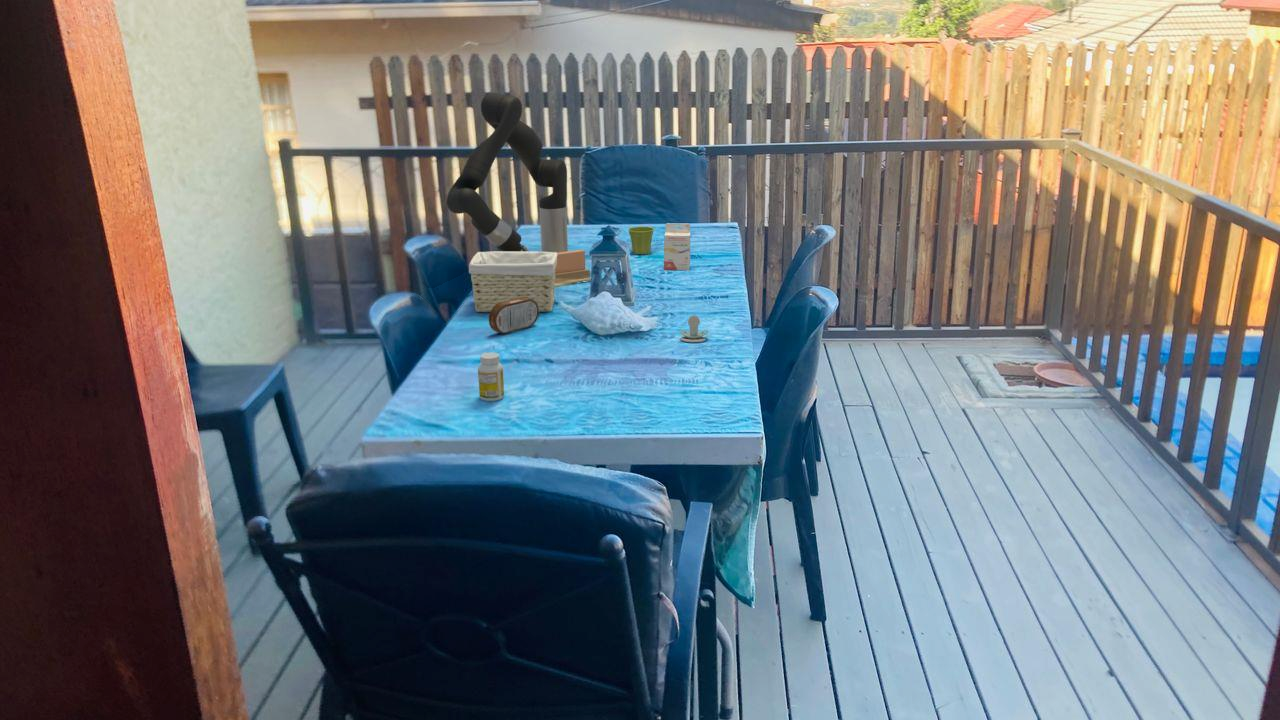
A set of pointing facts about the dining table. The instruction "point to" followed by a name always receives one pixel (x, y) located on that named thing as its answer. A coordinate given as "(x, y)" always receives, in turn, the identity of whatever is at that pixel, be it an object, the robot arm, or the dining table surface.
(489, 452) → the dining table surface
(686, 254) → the ink cartridge box
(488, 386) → the supplement bottle
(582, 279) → the holder
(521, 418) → the dining table surface
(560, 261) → the cover plate
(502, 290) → the storage basket
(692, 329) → the pacifier
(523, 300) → the tin
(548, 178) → the robot arm
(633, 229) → the plant pot
